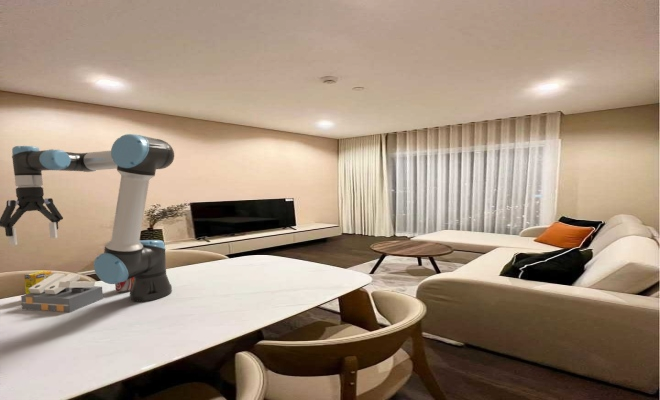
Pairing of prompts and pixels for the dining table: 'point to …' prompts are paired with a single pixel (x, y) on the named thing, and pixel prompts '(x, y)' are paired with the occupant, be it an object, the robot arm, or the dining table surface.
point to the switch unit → (62, 299)
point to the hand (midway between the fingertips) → (34, 241)
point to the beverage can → (124, 285)
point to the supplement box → (35, 279)
